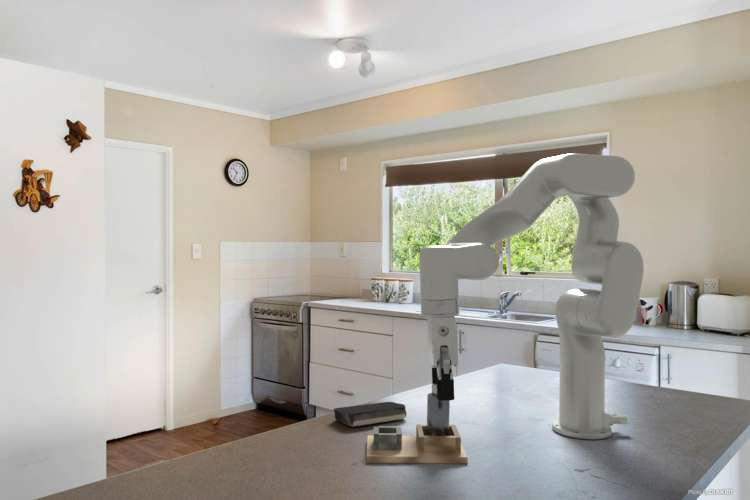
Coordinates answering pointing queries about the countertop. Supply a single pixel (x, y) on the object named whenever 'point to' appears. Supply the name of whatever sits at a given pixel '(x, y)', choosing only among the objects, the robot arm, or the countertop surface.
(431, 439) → the holder
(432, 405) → the bottle
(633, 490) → the countertop surface
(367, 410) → the black sponge
